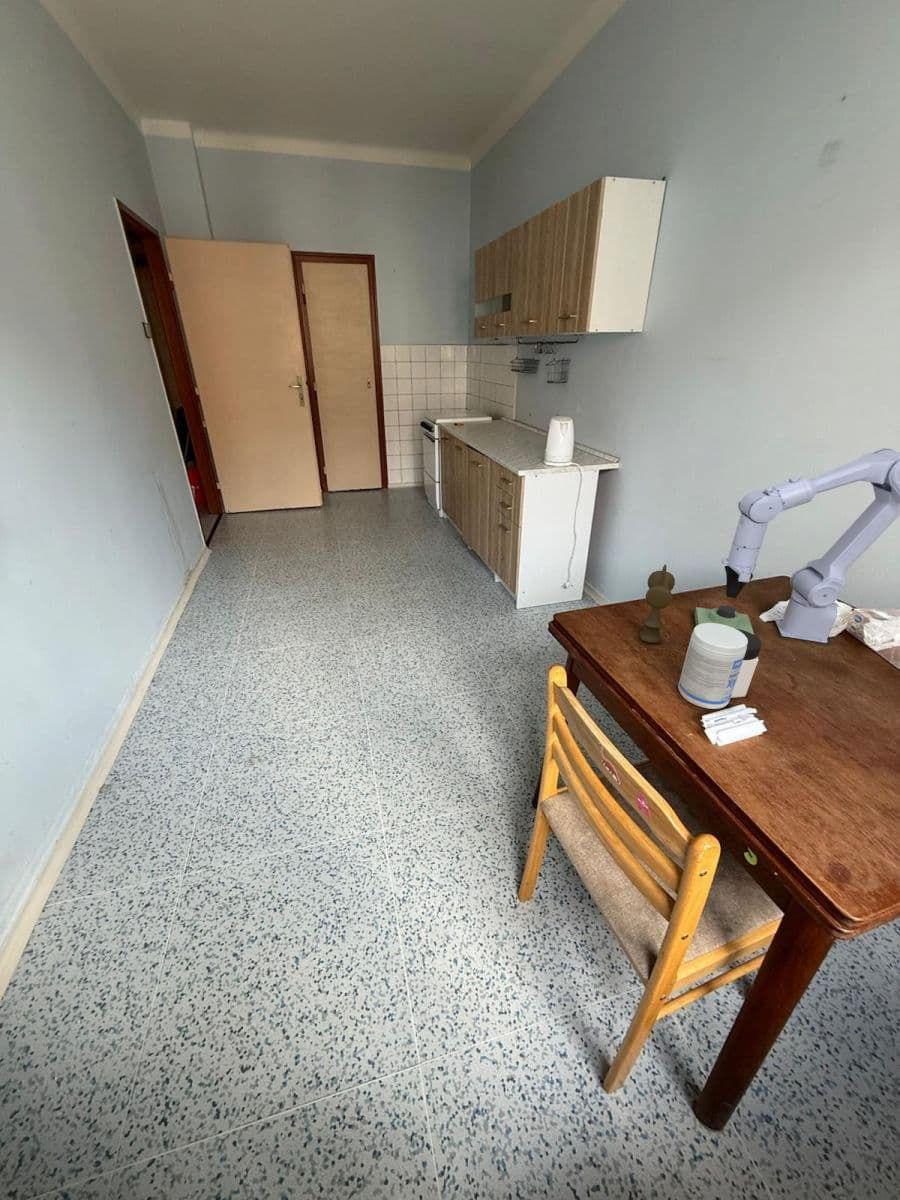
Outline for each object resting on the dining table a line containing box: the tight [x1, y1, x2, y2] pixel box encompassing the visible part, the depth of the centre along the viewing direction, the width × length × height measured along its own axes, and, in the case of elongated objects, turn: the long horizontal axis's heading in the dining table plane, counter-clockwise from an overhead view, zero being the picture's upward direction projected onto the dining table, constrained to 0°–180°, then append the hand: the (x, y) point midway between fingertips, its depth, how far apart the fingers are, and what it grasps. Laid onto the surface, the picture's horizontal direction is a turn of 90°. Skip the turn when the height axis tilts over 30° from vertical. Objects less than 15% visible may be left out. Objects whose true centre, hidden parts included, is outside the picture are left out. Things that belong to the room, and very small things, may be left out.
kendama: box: [638, 564, 676, 644], centre depth 111 cm, size 6×10×20 cm, turn 155°
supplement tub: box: [677, 623, 748, 710], centre depth 93 cm, size 10×10×15 cm
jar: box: [730, 628, 763, 699], centre depth 96 cm, size 9×8×12 cm
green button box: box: [694, 606, 755, 635], centre depth 119 cm, size 12×10×4 cm
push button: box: [717, 605, 736, 618], centre depth 117 cm, size 4×4×2 cm
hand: (730, 596), depth 115 cm, fingers closed
